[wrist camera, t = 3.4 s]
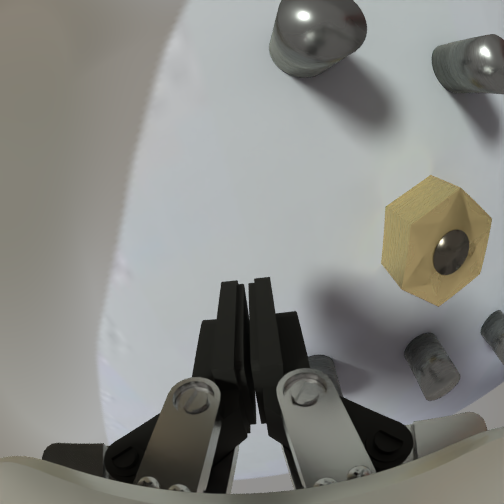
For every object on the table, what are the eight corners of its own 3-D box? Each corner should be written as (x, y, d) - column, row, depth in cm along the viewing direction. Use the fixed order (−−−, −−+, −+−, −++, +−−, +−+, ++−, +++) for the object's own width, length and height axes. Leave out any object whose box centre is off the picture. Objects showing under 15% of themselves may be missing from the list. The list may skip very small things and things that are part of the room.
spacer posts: (534, 84, 9) (575, 89, 5) (495, 331, 19) (518, 360, 15) (265, 24, 10) (272, -16, 6) (293, 383, 20) (300, 432, 16)
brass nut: (448, 160, 13) (481, 171, 10) (471, 238, 15) (498, 258, 12) (359, 222, 15) (381, 246, 12) (395, 294, 17) (415, 323, 14)
